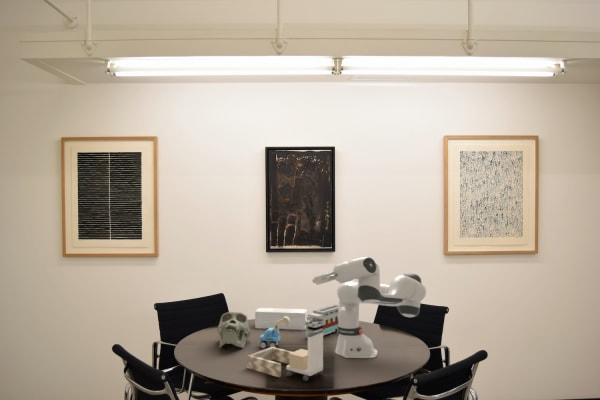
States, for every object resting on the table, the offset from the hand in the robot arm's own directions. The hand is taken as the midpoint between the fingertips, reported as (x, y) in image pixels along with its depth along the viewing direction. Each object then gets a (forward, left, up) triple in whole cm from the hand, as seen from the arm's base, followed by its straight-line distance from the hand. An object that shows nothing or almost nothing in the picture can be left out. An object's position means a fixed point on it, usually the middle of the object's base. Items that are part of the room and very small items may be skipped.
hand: (319, 279), depth 226 cm
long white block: (+39, -77, -45) cm, 97 cm away
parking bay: (+23, -5, -45) cm, 51 cm away
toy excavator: (+32, -35, -45) cm, 65 cm away
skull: (+56, -33, -45) cm, 79 cm away
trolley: (+7, +3, -45) cm, 45 cm away
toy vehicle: (+9, -67, -45) cm, 81 cm away
